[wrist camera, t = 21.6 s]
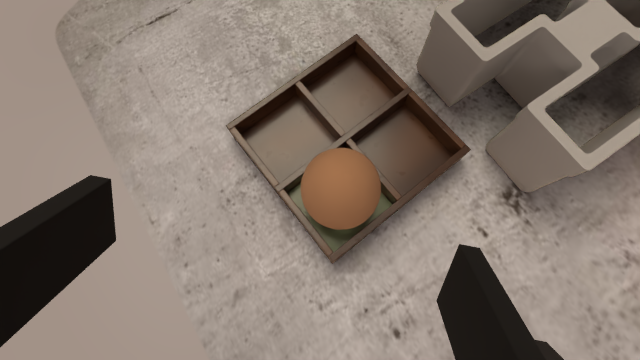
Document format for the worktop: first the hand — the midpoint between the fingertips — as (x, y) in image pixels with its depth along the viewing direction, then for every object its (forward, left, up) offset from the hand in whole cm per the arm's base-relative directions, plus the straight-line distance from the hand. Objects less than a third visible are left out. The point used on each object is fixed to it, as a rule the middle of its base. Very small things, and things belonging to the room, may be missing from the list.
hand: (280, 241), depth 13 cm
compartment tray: (-7, +9, -19) cm, 22 cm away
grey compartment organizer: (0, +33, -19) cm, 38 cm away
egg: (-3, +6, -18) cm, 19 cm away
